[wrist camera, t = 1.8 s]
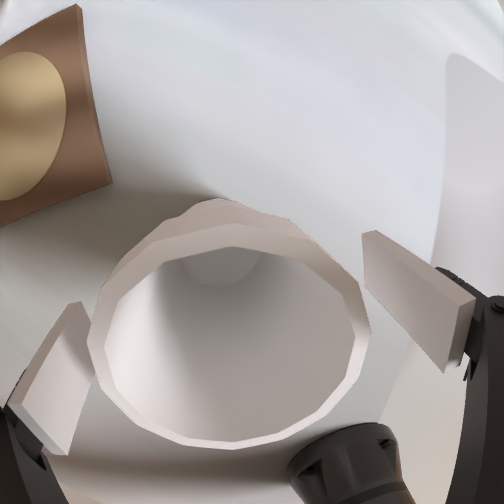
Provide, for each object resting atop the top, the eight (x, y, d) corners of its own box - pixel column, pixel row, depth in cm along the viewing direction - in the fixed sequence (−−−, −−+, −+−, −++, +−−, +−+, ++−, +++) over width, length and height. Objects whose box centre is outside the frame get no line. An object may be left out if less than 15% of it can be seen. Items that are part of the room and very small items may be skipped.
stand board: (112, 182, 19) (105, 185, 18) (-20, 236, 18) (-30, 241, 17) (82, 9, 14) (74, 2, 13) (-46, 89, 13) (-56, 88, 12)
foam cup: (142, 289, 22) (94, 427, 10) (164, 163, 19) (93, 194, 7) (265, 311, 24) (313, 449, 12) (300, 194, 21) (411, 264, 9)
